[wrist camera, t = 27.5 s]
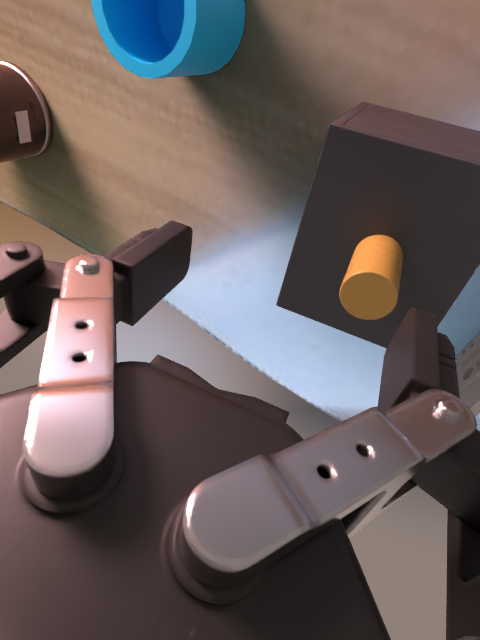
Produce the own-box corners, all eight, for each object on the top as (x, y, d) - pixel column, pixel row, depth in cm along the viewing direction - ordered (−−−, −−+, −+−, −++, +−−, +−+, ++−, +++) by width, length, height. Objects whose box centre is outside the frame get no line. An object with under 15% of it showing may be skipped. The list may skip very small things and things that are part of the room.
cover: (316, 239, 37) (251, 345, 23) (362, 101, 29) (305, 139, 16) (419, 274, 35) (413, 413, 21) (497, 135, 27) (566, 213, 14)
